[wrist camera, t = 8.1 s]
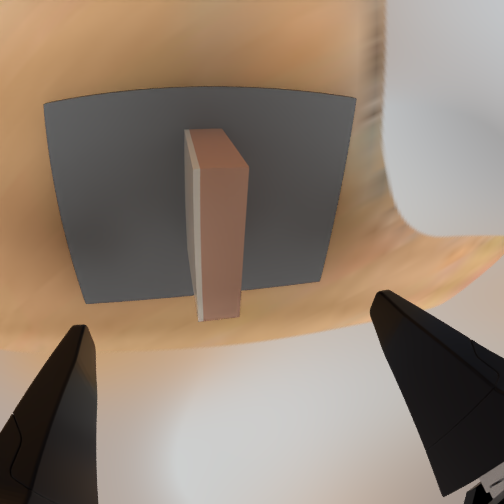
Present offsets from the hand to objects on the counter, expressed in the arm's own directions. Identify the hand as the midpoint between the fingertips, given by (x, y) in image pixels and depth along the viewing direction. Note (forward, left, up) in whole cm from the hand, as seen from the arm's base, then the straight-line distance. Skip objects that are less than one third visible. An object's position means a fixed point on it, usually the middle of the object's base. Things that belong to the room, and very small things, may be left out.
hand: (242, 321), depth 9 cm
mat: (0, 0, -8) cm, 8 cm away
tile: (0, +1, -7) cm, 7 cm away
